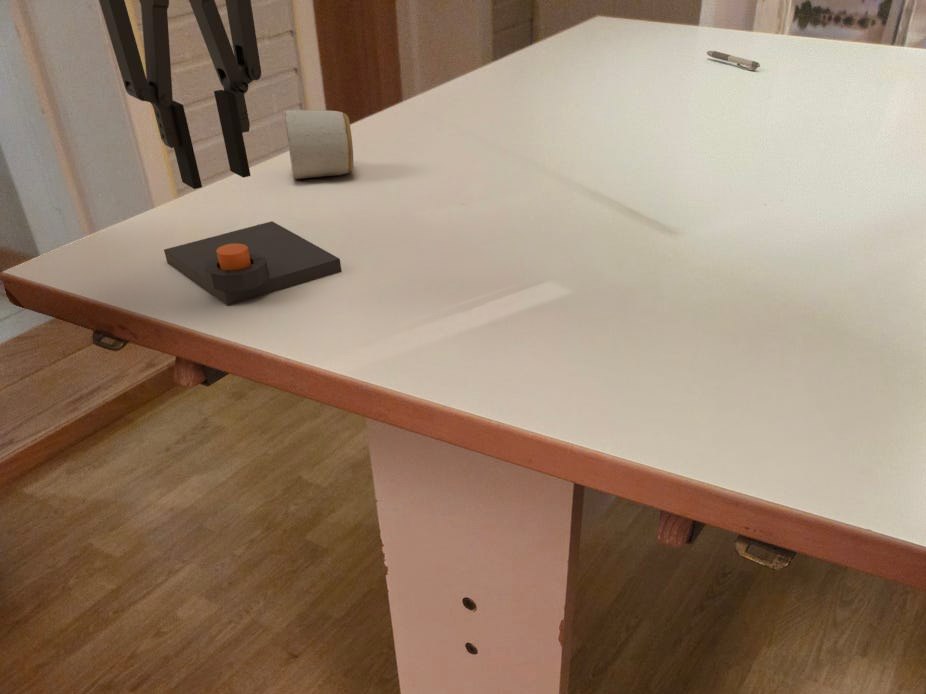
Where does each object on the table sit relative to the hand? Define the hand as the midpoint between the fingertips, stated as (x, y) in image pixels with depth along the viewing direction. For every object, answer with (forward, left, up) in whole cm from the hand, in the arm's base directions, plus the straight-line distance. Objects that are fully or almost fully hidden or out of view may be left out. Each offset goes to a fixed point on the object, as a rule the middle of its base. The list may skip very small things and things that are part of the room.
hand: (216, 178), depth 80 cm
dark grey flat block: (-5, +4, -11) cm, 13 cm away
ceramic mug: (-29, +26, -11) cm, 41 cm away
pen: (-33, +112, -11) cm, 117 cm away
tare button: (0, 0, -8) cm, 8 cm away
